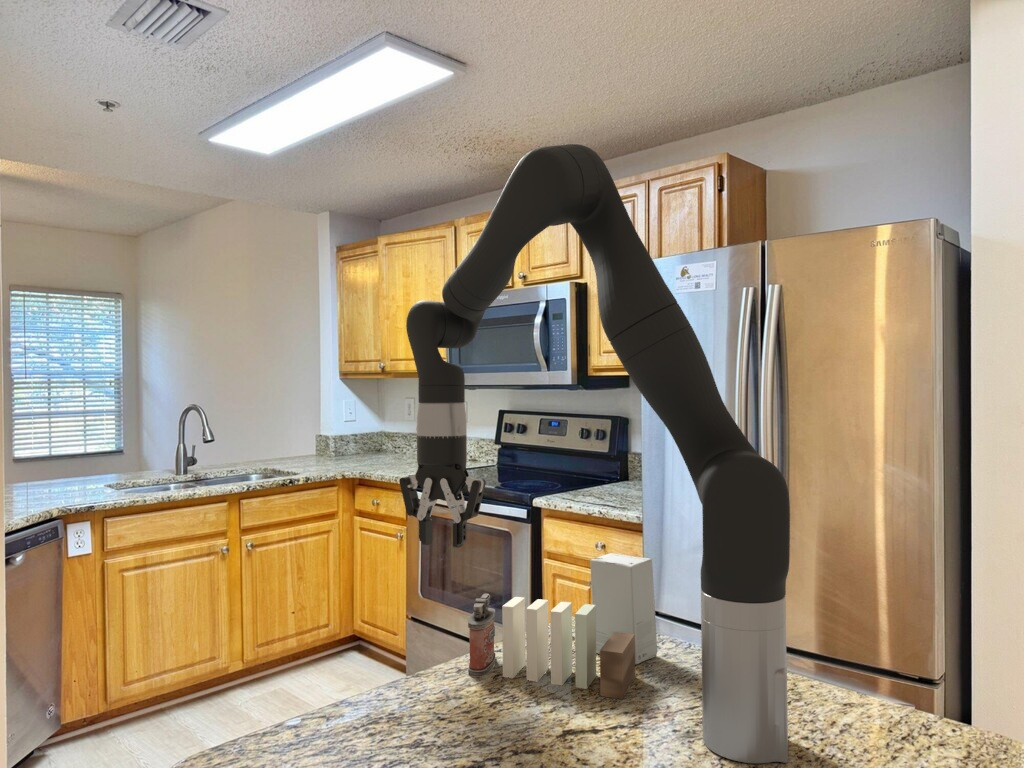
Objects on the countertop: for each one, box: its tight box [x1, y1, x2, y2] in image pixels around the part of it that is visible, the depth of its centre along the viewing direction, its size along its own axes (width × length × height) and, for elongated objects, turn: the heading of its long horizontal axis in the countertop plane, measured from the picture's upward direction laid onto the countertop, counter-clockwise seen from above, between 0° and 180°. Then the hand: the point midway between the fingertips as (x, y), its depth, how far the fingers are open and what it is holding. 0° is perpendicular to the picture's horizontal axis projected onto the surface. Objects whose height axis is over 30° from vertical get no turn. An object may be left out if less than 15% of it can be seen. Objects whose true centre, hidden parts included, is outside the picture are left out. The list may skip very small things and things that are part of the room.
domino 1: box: [501, 596, 527, 679], centre depth 103 cm, size 2×5×10 cm, turn 158°
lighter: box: [467, 593, 497, 678], centre depth 105 cm, size 8×3×10 cm, turn 168°
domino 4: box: [574, 603, 597, 690], centre depth 99 cm, size 2×5×10 cm, turn 158°
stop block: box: [599, 632, 636, 700], centre depth 97 cm, size 3×8×6 cm, turn 159°
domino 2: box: [525, 598, 550, 683], centre depth 101 cm, size 2×5×10 cm, turn 158°
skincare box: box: [589, 552, 658, 665], centre depth 109 cm, size 8×6×15 cm
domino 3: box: [549, 601, 573, 686], centre depth 100 cm, size 2×5×10 cm, turn 158°
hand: (442, 545), depth 107 cm, fingers open, 4 cm apart
